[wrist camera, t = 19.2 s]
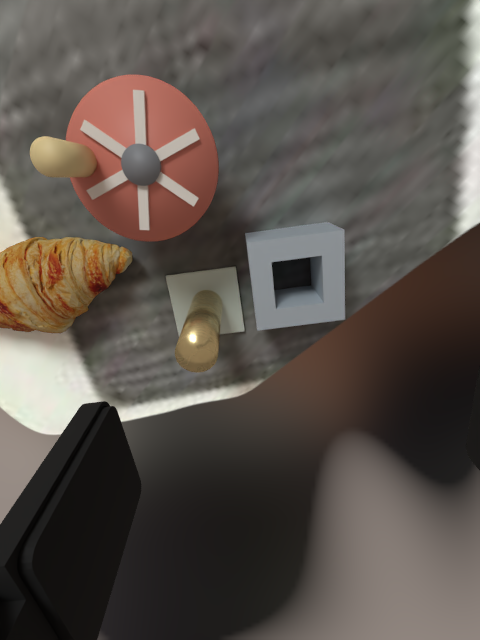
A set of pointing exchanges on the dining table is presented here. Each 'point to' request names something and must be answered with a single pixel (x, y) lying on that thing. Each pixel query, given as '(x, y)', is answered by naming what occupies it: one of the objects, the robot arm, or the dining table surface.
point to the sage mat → (214, 280)
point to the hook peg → (200, 333)
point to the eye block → (306, 301)
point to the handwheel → (136, 158)
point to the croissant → (55, 280)
